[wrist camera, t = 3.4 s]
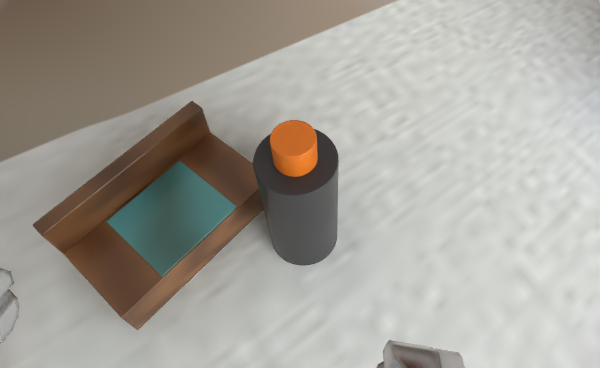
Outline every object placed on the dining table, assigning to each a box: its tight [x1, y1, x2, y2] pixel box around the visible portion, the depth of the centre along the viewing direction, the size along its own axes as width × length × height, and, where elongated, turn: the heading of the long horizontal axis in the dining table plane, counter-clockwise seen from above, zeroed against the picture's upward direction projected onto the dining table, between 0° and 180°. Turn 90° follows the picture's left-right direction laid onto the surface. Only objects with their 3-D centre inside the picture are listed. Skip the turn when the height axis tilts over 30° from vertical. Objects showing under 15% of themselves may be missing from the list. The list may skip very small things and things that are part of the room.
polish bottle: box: [253, 120, 338, 265], centre depth 30 cm, size 5×5×12 cm
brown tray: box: [33, 101, 264, 330], centre depth 34 cm, size 14×8×6 cm, turn 138°
